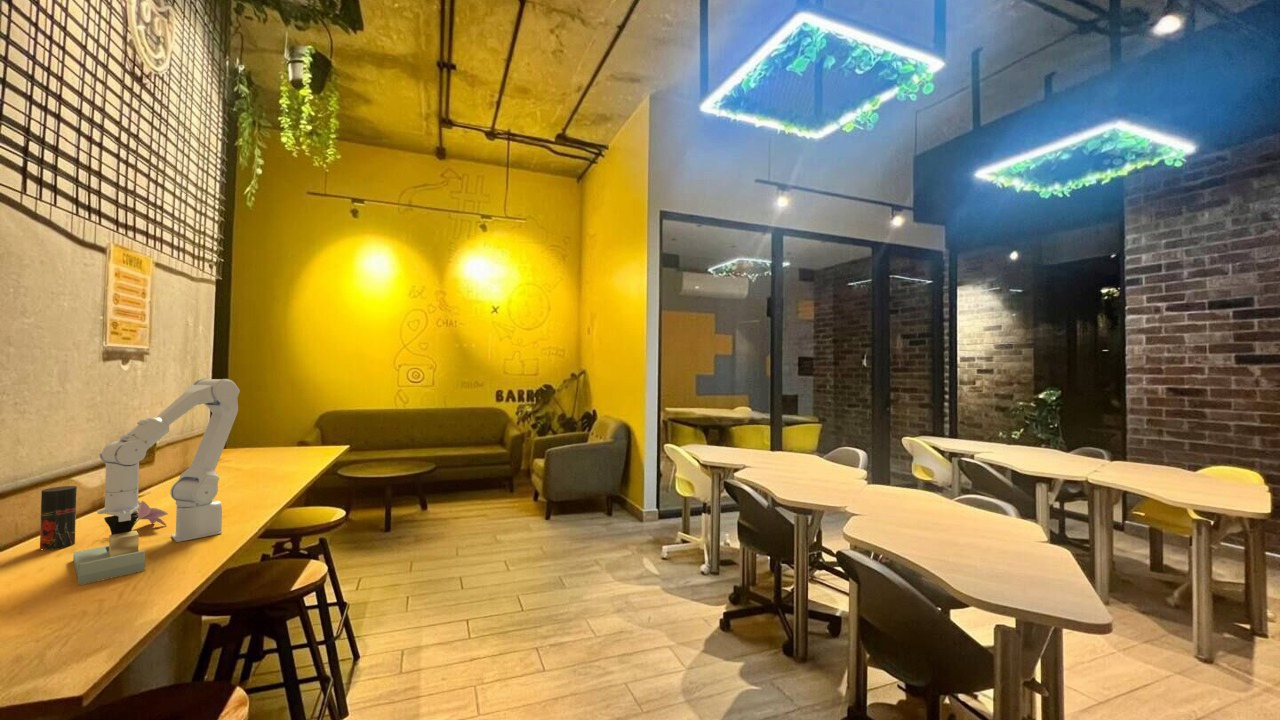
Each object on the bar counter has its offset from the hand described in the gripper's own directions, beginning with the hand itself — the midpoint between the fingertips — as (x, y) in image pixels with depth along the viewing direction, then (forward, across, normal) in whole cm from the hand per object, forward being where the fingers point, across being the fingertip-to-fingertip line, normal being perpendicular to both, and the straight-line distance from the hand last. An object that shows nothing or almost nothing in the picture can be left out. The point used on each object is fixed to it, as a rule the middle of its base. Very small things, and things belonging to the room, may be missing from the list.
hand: (120, 544), depth 122 cm
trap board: (+3, +5, -2) cm, 7 cm away
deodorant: (+3, -22, -10) cm, 24 cm away
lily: (+3, -24, +7) cm, 25 cm away
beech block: (+1, +5, 0) cm, 5 cm away
